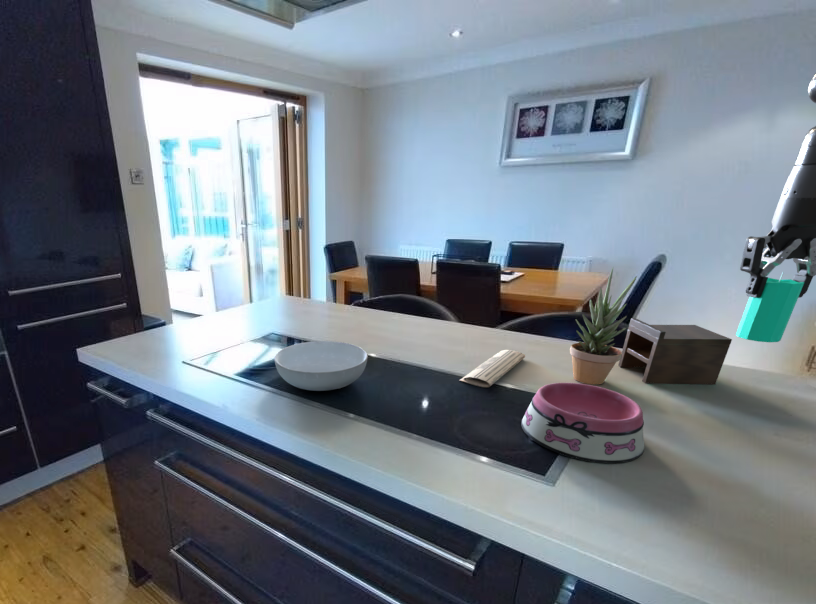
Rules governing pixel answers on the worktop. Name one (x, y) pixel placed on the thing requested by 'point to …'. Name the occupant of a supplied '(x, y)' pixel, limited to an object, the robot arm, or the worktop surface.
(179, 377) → the worktop surface
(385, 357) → the worktop surface
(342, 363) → the serving bowl
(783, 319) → the candle
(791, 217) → the robot arm
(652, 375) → the shelf
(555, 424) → the dog bowl
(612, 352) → the potted plant
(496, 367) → the newspaper
